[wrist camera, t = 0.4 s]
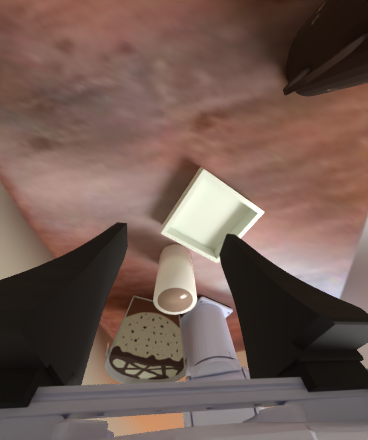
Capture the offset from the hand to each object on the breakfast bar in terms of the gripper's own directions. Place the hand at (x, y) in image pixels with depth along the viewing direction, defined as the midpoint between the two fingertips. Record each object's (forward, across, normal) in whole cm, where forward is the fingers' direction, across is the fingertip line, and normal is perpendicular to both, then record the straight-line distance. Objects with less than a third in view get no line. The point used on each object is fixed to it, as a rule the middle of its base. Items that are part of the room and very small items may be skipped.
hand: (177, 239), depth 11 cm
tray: (+10, -5, +3) cm, 12 cm away
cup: (+10, -2, +11) cm, 15 cm away
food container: (+9, +1, +25) cm, 27 cm away
